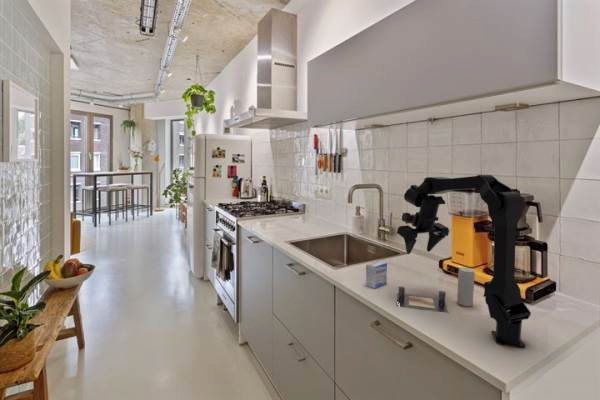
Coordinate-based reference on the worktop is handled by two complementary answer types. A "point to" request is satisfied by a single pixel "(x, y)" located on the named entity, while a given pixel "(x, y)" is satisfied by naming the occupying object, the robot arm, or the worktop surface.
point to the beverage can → (465, 286)
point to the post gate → (422, 301)
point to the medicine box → (376, 274)
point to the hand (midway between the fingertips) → (418, 252)
